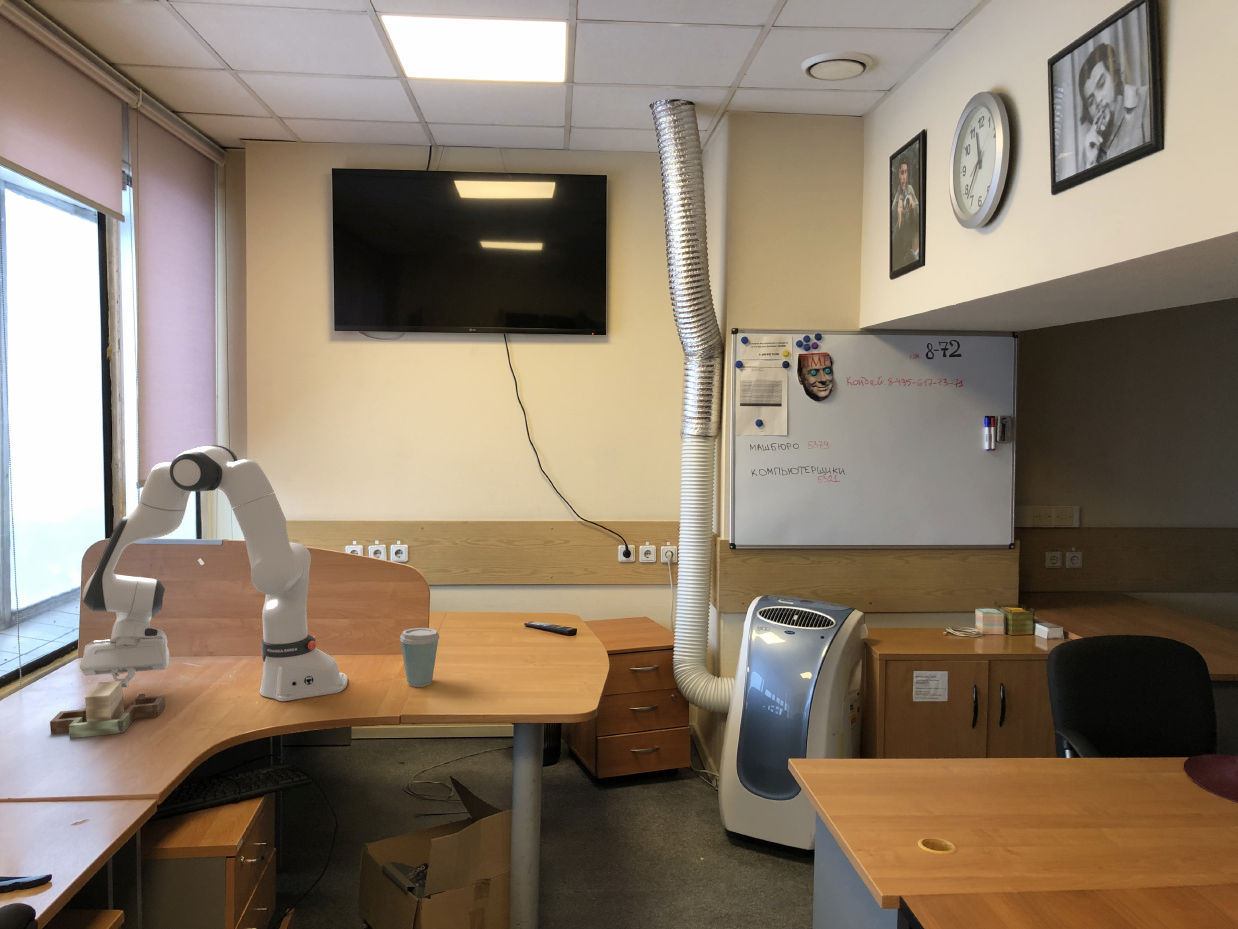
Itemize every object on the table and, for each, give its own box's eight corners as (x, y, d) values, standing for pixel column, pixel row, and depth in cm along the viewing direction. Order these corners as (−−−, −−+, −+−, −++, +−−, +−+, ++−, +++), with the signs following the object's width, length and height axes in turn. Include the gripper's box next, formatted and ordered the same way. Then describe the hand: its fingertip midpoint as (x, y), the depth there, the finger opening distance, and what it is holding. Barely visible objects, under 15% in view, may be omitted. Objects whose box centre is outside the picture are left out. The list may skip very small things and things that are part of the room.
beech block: (124, 715, 211) (121, 680, 210) (111, 731, 202) (108, 695, 201) (101, 717, 210) (99, 682, 209) (87, 734, 200) (84, 697, 199)
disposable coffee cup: (411, 675, 239) (410, 623, 237) (447, 677, 237) (445, 625, 235) (394, 688, 228) (392, 634, 227) (431, 691, 226) (429, 637, 225)
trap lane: (167, 702, 219) (167, 691, 219) (148, 730, 202) (147, 718, 202) (72, 711, 214) (72, 699, 213) (44, 740, 196) (43, 728, 196)
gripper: (82, 635, 220) (71, 685, 212) (168, 629, 226) (161, 677, 217) (89, 647, 225) (78, 695, 217) (173, 640, 230) (166, 688, 222)
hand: (120, 686), depth 217 cm, fingers closed
